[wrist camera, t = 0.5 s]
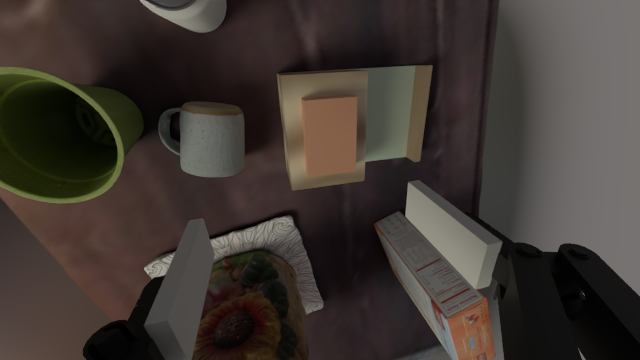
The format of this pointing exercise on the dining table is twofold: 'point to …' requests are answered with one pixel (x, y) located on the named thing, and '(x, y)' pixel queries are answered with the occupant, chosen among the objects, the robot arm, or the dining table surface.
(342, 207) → the dining table surface
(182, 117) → the ceramic mug
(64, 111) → the plant pot
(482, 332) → the cracker box
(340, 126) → the orange rectangular slab
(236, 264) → the cookie jar
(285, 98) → the beige rectangular slab
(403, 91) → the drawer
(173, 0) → the can
